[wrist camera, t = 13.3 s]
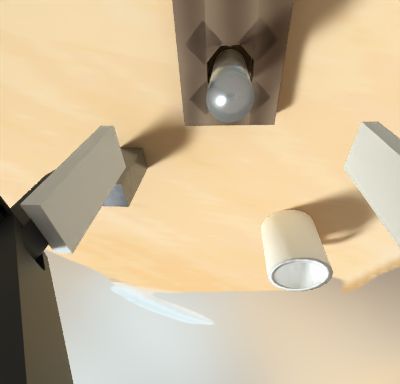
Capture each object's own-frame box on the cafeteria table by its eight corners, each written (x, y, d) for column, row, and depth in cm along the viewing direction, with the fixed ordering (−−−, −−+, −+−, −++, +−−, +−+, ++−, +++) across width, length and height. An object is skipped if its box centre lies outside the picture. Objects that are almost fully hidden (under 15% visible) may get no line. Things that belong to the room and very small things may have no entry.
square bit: (125, 168, 41) (102, 206, 34) (119, 148, 39) (92, 183, 31) (147, 168, 41) (128, 206, 33) (142, 147, 38) (121, 184, 31)
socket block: (187, 117, 34) (184, 125, 32) (162, -166, 19) (153, -189, 17) (271, 116, 33) (274, 124, 31) (313, -189, 18) (326, -217, 16)
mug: (336, 232, 46) (360, 282, 38) (296, 256, 52) (309, 303, 44) (288, 201, 42) (302, 248, 34) (250, 230, 48) (255, 276, 40)
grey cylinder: (214, 84, 31) (207, 122, 21) (213, 49, 29) (205, 74, 18) (244, 83, 31) (252, 122, 21) (246, 48, 28) (256, 72, 18)
